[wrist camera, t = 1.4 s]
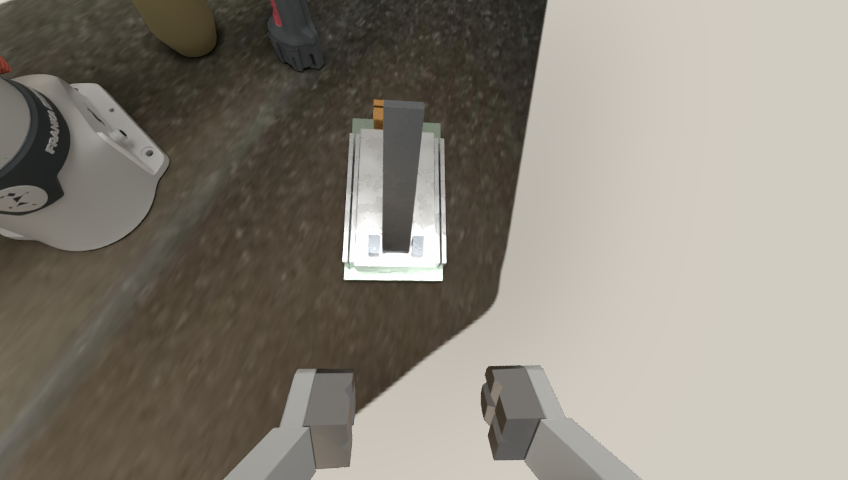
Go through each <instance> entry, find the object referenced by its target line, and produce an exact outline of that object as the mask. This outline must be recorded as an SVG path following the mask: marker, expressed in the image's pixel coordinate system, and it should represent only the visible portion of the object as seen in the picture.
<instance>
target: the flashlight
mask: <svg viewBox="0 0 848 480" xmlns="http://www.w3.org/2000/svg"><path fill="white" fill-rule="evenodd" d="M270 1H271V4H272V6H273V15H272V16H271V17H270V19H269V20H268V22H267V25H268V28H269V32H268V33H267V34H268V36H269V38H270V41H271V43H272V45H273V47H274V49H275V51H276V53H277V56H278V58H279V59H280V60H281V61H282V62H283V63H286V62H287V63H289V64H290V65H292V66H293V68H294V70H297V71H303V68H307V67H310V68H316V69H320V68H321V67H322V66H323V64H324V59H323V55H322V51H321V47H320V42H319V37H318V33H317V27H316V24H315V23H314V22H313V21H312V20H311V19H310V14H309V9H308V5H307V2H306V0H270Z"/></svg>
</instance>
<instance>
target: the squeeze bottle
mask: <svg viewBox="0 0 848 480" xmlns="http://www.w3.org/2000/svg"><path fill="white" fill-rule="evenodd" d="M131 1H132V2H133V4H134V5H135V7H136V9H137V10H138V12H139V13H140V15H141V17H142V18H143V20H144V21H145V23H146V25H147V26H148V28H149V29H150V31H151V32H152V33H153V34H154V35H155V36H156V37H157V38H158V39H160V40H161V41H162V42H164V43H165V44H167V45H168V46H170V47H171V48H172V49H174V50H175V51H177V52H178V53H180V54H182V55H184V56H187V57H200V56H203V55H206V54H207V53H209V52H210V51H212V50H213V48H214V47H215V45H216V41H217V35H216V28H215V21H214V15H213V13H212V10H211V8H210V6H209V5H208V3H207V2H206V0H131Z"/></svg>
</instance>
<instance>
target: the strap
mask: <svg viewBox="0 0 848 480" xmlns="http://www.w3.org/2000/svg"><path fill="white" fill-rule="evenodd" d="M424 110H425V109H424V102H411V101H396V100H384V105H383V210H382V252H409V250H410V241H411V231H412V222H413V213H414V203H415V194H416V184H417V175H418V166H419V156H420V147H421V138H422V128H423V119H424Z"/></svg>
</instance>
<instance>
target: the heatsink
mask: <svg viewBox="0 0 848 480" xmlns="http://www.w3.org/2000/svg"><path fill="white" fill-rule="evenodd" d="M383 105H384V100H374V113H373V119H356V118H353V127H352V133H350V140H349V157H348V175H347V192H346V210H345V227H344V245H343V263H344V265H345V271H344V280H345V281H372V282H442V281H443V266H444V265H445V264H446V216H445V164H444V139H442V138H440V124H438V123H423V128H422V138H421V147H420V156H419V166H418V175H417V184H416V194H415V203H414V213H413V222H412V231H411V241H410V250H409V252H382V210H383Z"/></svg>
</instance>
